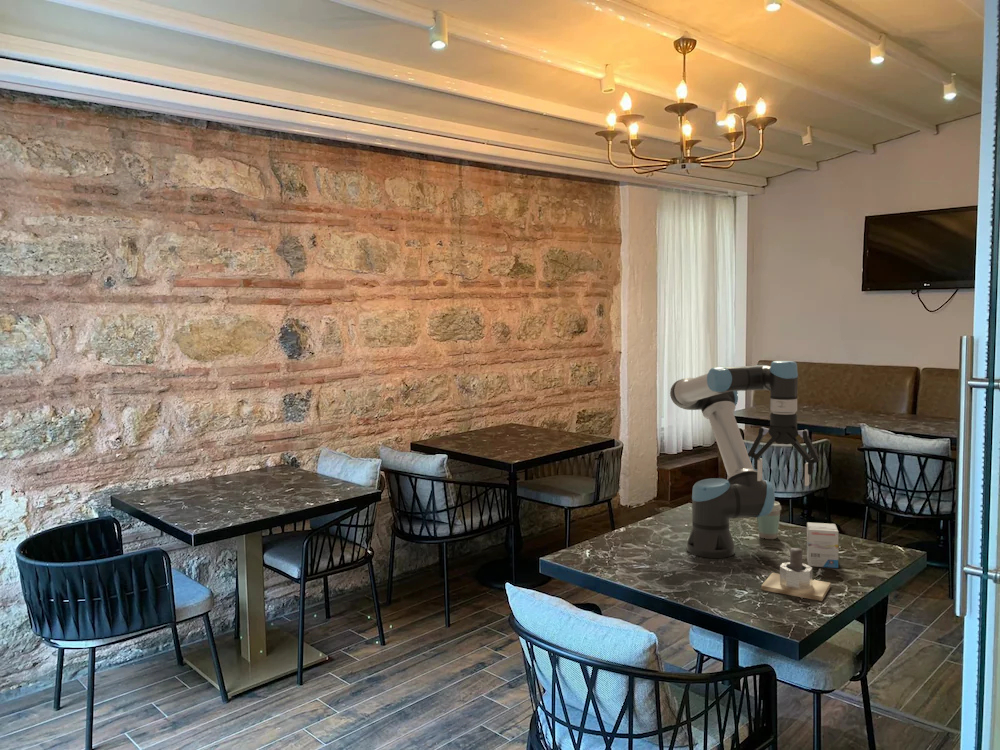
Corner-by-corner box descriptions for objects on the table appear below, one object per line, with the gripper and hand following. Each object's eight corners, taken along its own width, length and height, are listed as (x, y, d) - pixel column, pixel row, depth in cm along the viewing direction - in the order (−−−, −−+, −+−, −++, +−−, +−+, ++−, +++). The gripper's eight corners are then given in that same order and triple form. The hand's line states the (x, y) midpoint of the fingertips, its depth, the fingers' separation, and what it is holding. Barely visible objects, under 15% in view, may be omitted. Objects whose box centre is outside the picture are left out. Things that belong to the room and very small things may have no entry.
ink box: (835, 559, 231) (836, 523, 230) (838, 568, 223) (839, 531, 222) (806, 557, 234) (806, 521, 233) (807, 566, 226) (808, 529, 225)
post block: (761, 589, 208) (761, 550, 207) (772, 576, 218) (772, 539, 217) (822, 601, 199) (822, 560, 198) (830, 586, 209) (831, 548, 208)
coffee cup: (785, 540, 252) (785, 505, 251) (759, 540, 252) (760, 506, 251) (776, 532, 260) (776, 499, 259) (751, 533, 260) (751, 499, 259)
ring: (777, 586, 207) (777, 568, 207) (784, 577, 214) (784, 560, 213) (807, 591, 202) (808, 573, 202) (813, 582, 209) (814, 565, 209)
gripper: (737, 411, 224) (737, 480, 225) (826, 416, 210) (825, 489, 211) (744, 408, 230) (744, 475, 232) (831, 413, 216) (830, 484, 218)
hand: (783, 482), depth 221 cm, fingers open, 13 cm apart
